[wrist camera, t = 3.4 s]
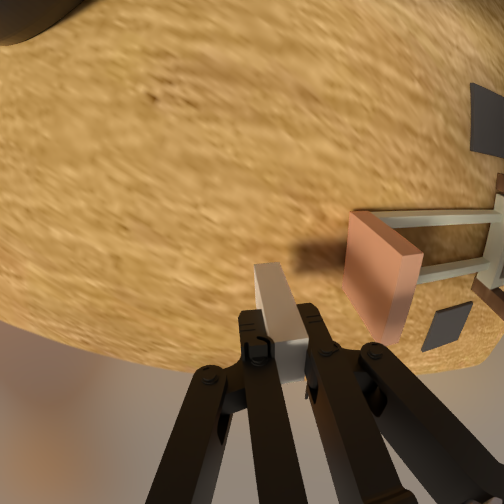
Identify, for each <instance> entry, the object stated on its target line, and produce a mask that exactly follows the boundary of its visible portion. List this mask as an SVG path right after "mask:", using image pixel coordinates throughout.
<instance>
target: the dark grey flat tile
mask: <svg viewBox="0 0 504 504" xmlns="http://www.w3.org/2000/svg"><path fill="white" fill-rule="evenodd" d="M472 305H473V302H472V301H470V302H467V303H464V304H461V305H457V306H454V307H450V308H447V309H443V310H439V311H436V313H435V316H434V319H433V321H432V324H431V326H430V329H429V332H428V334H427V337H426V339H425V341H424V344H423V346H422V349H421V351H422V352H425V351H428V350H431V349H434V348H437V347H440V346H442V345H445V344H448V343H451V342H453V341H456V340H458V338H459V335H460V333H461V331H462V329H463V327H464V324H465V322H466V320H467V317H468V315H469V312H470V310H471V308H472Z"/></svg>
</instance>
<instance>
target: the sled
mask: <svg viewBox="0 0 504 504" xmlns="http://www.w3.org/2000/svg"><path fill="white" fill-rule="evenodd" d="M476 223H491V225H490V229H489V234H488V238H487V242H486V246H485V250H484V253H483V257H480V258H474V259H468V260H463V261H457V262H451V263H444V264H438V265H432V266H425V267H421V264H422V260H423V255H424V253H423V252H422V251H420V250H419V249H418V248H417V247H415V246H414V245H413V244H412V243H410V242H409V241H408V240H407V239H405V238H404V237H403V236H401V235H400V234H399V233H397V232H396V231H395V230H394V229H392V228H406V227H422V226H439V225H457V224H476ZM475 272H478V274H477V277H476V278H477V279H478V280H479V281H481V282H482V283H483V284H484V285H485V286H486V287H488V288H489V289H494V288H497V287H500V286H503V285H504V194H496V199H495V205H494V210H416V211H383V212H369V211H350V215H349V228H348V239H347V249H346V259H345V267H344V276H343V283H342V289H343V291H344V292H345V294H346V295H347V297H348V298H349V300H350V301H351V303H352V305H353V306H354V308H355V309H356V311H357V313H358V314H359V316H360V317H361V319H362V321H363V322H364V324H365V326H366V327H367V329H368V330H369V332H370V334H371V335H372V337H373V339H374V340H375V342H378V343H381V344H383V345H384V346H388V345H392V344H396V343H398V342H399V339H400V336H401V334H402V331H403V328H404V325H405V322H406V318H407V315H408V312H409V309H410V306H411V302H412V299H413V295H414V292H415V288H416V285H417V284H422V283H427V282H432V281H437V280H442V279H447V278H452V277H457V276H462V275H466V274H471V273H475Z"/></svg>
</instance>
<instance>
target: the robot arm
mask: <svg viewBox="0 0 504 504" xmlns="http://www.w3.org/2000/svg"><path fill="white" fill-rule="evenodd" d="M82 1H83V0H0V46H8V45H13V44H17V43H20V42H22V41H25V40H27V39H29V38H31V37H33V36H35V35H37V34H39V33H40V32H42V31H44V30H45V29H47V28H48V27H50V26H51V25H53V24H54V23H56V22H57V21H58V20H60V19H61V18H62V17H64V16H65V15H66V14H68V13H69V12H70V11H71V10H73V9H74V8H75V7H76V6H77V5H78V4H80V3H81V2H82ZM254 278H255V297H256V307H257V309H256V310H245V311H241V313H240V315H239V317H238V322H239V333H240V343H241V357H240V359H239V361H238V362H237V363H236V364H234V365H232V366H230V367H228V368H225V369H222V368H221V367H219V366H215V365H206V366H203V367H201V368H199V369H198V370H196V372H195V373H194V375H193V378H192V380H191V383H190V385H189V388H188V391H187V393H186V396H185V398H184V401H183V404H182V406H181V409H180V411H179V414H178V417H177V419H176V422H175V425H174V427H173V430H172V433H171V435H170V438H169V440H168V443H167V446H166V449H165V451H164V454H163V456H162V459H161V462H160V465H159V467H158V470H157V473H156V475H155V478H154V481H153V483H152V486H151V489H150V491H149V494H148V497H147V499H146V502H145V504H211V502H212V498H213V494H214V490H215V486H216V482H217V478H218V474H219V470H220V466H221V462H222V458H223V454H224V450H225V446H226V442H227V437H228V433H229V429H230V425H231V420H232V416H233V413H235V412H238V411H240V410H243V409H245V408H247V409H248V418H249V426H250V435H251V443H252V451H253V459H254V467H255V475H256V483H257V490H258V497H259V504H308V502H307V497H306V493H305V488H304V484H303V479H302V475H301V471H300V467H299V462H298V457H297V453H296V449H295V444H294V440H293V435H292V432H291V427H290V422H289V418H288V413H287V409H286V404H285V400H284V396H283V391H282V387H281V384H284V383H291V382H298V381H304V377H305V376H306V379H307V386H306V394H305V399H308V396H309V399H310V403H311V406H312V410H313V413H314V416H315V420H316V423H317V427H318V430H319V434H320V437H321V441H322V444H323V448H324V451H325V455H326V458H327V462H328V465H329V469H330V473H331V476H332V480H333V483H334V487H335V490H336V494H337V498H338V501H339V504H418V502H417V499H416V497H415V495H414V494H413V493H412V492H411V491H409V490H407V489H405V488H404V487H403V486H402V484H401V482H400V480H399V477H398V474H397V472H396V469H395V467H394V465H393V462H392V460H391V457H390V455H389V452H388V450H387V448H386V445H385V443H384V440H383V438H382V436H381V434H382V435H383V436H384V438H385V439H386V440H387V441H388V443H389V444H390V445H391V446H392V448H393V449H394V450H395V452H396V453H397V454H398V455H399V457H400V458H401V459H402V460H403V462H404V463H405V464H406V465H407V467H408V468H409V469H410V470H411V472H412V473H413V474H414V475H415V477H416V478H417V479H418V481H419V482H420V483H421V484H422V486H423V487H424V488H425V489H426V490H427V492H428V493H429V494H430V495H431V497H432V498H433V499H434V500H435V502H436V503H437V504H504V465H503V464H501V463H499V462H498V461H497V460H496V459H495V458H494V457H493V456H492V455H491V454H490V452H489V451H487V449H486V448H485V447H484V446H483V445H482V444H481V443H480V442H479V441H478V440H477V439H476V437H475V436H474V435H473V434H472V433H471V432H470V431H469V430H468V429H467V428H466V427H465V426H464V425H463V424H462V423H461V422H460V421H459V420H458V419H457V417H456V416H455V415H454V414H452V412H451V411H450V410H449V409H448V408H447V407H446V406H445V405H444V404H443V403H442V402H441V401H440V400H439V399H438V398H437V397H436V396H435V395H434V394H433V393H432V392H431V391H430V390H429V389H428V388H427V387H426V386H425V385H424V384H423V383H422V382H421V381H420V380H419V379H418V378H417V377H416V376H415V375H414V374H413V373H412V372H411V371H410V370H409V369H408V368H407V367H406V366H405V365H404V364H403V363H402V362H401V361H400V360H399V359H398V358H397V357H396V356H395V355H394V354H393V353H392V352H391V351H390V350H389V349H388V348H387V347H386V346H384V345H383V344H381V343H378V342H370V343H366V344H365V345H363V346H362V348H361V350H349V349H344V348H342V347H341V346H340V345H339V344H338V343H337V342H335V341H333V340H332V338H331V336H330V334H329V332H328V329H327V327H326V325H325V323H324V321H323V319H322V317H321V315H320V312H319V310H318V308H317V307H315V306H314V305H313V304H312V303H304V304H296V303H295V300H294V298H293V295H292V293H291V290H290V287H289V285H288V282H287V280H286V277H285V275H284V272H283V270H282V267H281V265H280V262H274V263H263V264H254Z"/></svg>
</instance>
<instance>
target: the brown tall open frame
mask: <svg viewBox="0 0 504 504" xmlns="http://www.w3.org/2000/svg"><path fill="white" fill-rule="evenodd" d="M496 189H497V190H499V191H501V192H503V193H504V174H500V173H498V175H497V183H496ZM476 277H477V276H476ZM476 277H475V279H474V282H473V285H472V288H471V290H472V291H473V292H474V293H476V294H477V295H478V296H479V297H480V298H481V299H482V300H483V301H484V302H485V303H486V304H487V305H488V306H489V307H490V308H491V309H492V310H493V311H494V312H495V313H496V314H497V315H498V316H499V317H500V318H501V319H502V320H503V321H504V292H503V291H502V290H501V289H500V288H499V287H497V288H494V289H489V288H488V287H486V286H485V285H484V284H483V283H482V282H481V281H479V280H478V279H477V278H476Z"/></svg>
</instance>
